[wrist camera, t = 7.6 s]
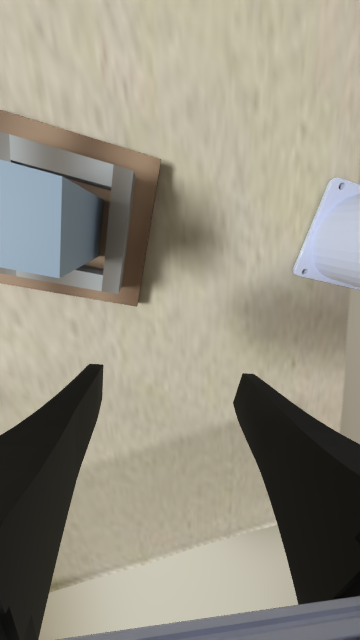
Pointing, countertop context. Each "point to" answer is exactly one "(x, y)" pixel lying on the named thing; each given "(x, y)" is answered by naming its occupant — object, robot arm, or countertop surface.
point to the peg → (46, 222)
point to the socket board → (103, 181)
